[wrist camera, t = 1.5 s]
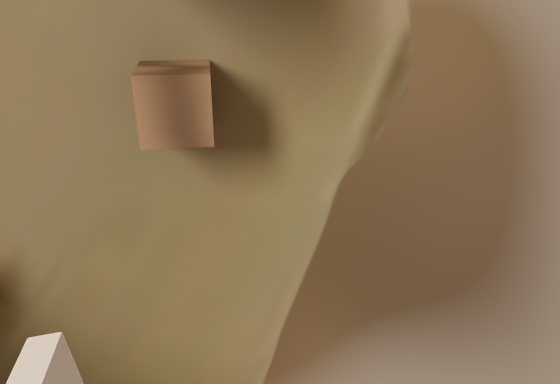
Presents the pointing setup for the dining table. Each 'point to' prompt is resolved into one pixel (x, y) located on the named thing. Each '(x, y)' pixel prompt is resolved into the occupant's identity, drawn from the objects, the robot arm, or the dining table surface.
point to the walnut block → (173, 104)
